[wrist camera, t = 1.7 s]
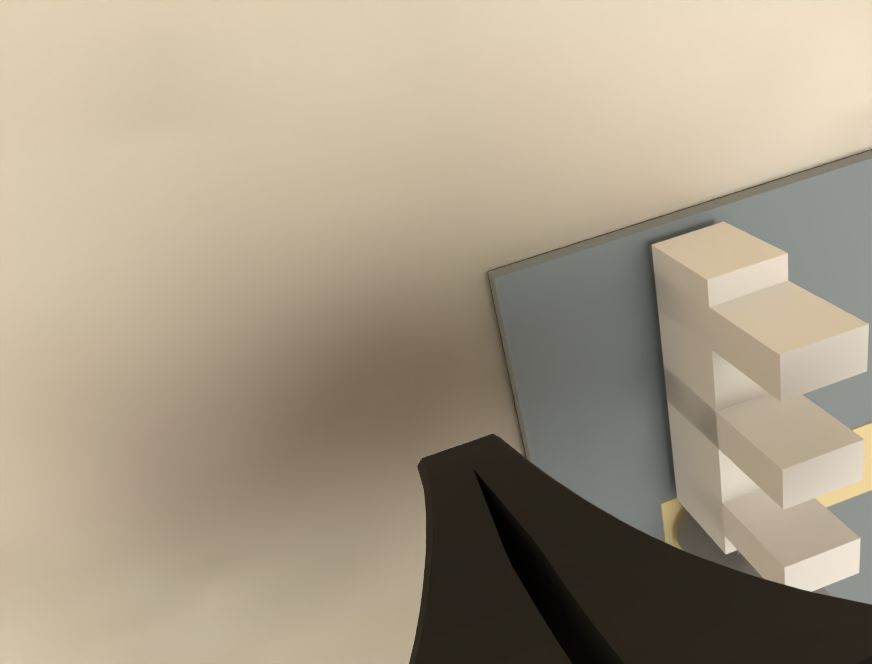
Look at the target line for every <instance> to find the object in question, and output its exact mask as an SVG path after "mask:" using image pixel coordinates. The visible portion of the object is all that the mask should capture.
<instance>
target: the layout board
mask: <svg viewBox="0 0 872 664" xmlns="http://www.w3.org/2000/svg"><path fill="white" fill-rule="evenodd" d="M721 222H726V223H728V224H730V225H732V226H734V227H736V228H738V229H740V230H742V231H744V232H746V233H748V234H750V235H752V236H754V237H756V238H758V239H760V240H762V241H764V242H766V243H768V244H770V245H773V246H775V247H777V248H779V249H781V250H783V251H785V252H787V253H788V281H790V282H792V283H794V284H796V285H798V286H799V287H801V288H803V289H805V290H807V291H809V292H811V293H812V294H814V295H816V296H818V297H820V298H822V299H824V300H825V301H827V302H829V303H831V304H833V305H835V306H837V307H838V308H840V309H842V310H844V311H846V312H848V313H850V314H851V315H853V316H855V317H857V318H859V319H861V320H863V321H864V322H866V323H868V324H869V335H868V361H867V372H864V373H861V374H858V375H855V376H853V377H850V378H847V379H844V380H841V381H839V382H836V383H833V384H830V385H828V386H825V387H822V388H819V389H816V390H814V391H811V392H808V393H805V394H802V395H804V396H805V397H806V398H808V399H809V400H810V401H812V402H813V403H815V404H816V405H817V406H819V407H820V408H822V409H823V410H824V411H826V412H827V413H829V414H830V415H831V416H833V417H834V418H836V419H837V420H838V421H840V422H841V423H843V424H844V425H845V426H847V427H848V428H849V429H851V430H852V431H854V432H855V433H856V434H858V435H859V436H861V437H862V438H863V439H864V463H863V480H861V481H858V482H855V483H853V484H850V485H847V486H845V487H842V488H840V489H837V490H834V491H832V492H829V493H826V494H824V495H821V496H818V497H816V498H815V499H817V500H818V501H819V502H820V503H821V504H822V505H823V506H825V507H826V508H827V509H828V510H829V511H830V512H831V513H833V514H834V515H835V516H836V517H837V518H838V519H839V520H841V521H842V522H843V523H844V524H845V525H846V526H847V527H849V528H850V529H851V530H852V531H853V532H854V533H855V534H857V535H858V536H859V537H860V538H861V540H860V565H859V573H858V574H855V575H853V576H850V577H848V578H845V579H843V580H840V581H838V582H835V583H832V584H830V585H827V586H825V587H824V588H825V589H826V590H827V591H828V592H829V593H830V594H831V595H832V596H833V597H838V598H843V599H848V600H853V601H857V602H862V603H867V604H872V150H870V151H867V152H863V153H860V154H857V155H854V156H851V157H848V158H844V159H841V160H838V161H835V162H832V163H829V164H826V165H822V166H819V167H816V168H813V169H810V170H807V171H804V172H800V173H797V174H794V175H791V176H788V177H785V178H781V179H778V180H775V181H772V182H769V183H766V184H763V185H759V186H756V187H753V188H750V189H747V190H744V191H741V192H737V193H734V194H731V195H728V196H725V197H722V198H718V199H715V200H712V201H709V202H706V203H703V204H700V205H696V206H693V207H690V208H687V209H684V210H681V211H678V212H674V213H671V214H668V215H665V216H662V217H659V218H655V219H652V220H649V221H646V222H643V223H640V224H637V225H633V226H630V227H627V228H624V229H621V230H618V231H614V232H611V233H608V234H605V235H602V236H599V237H596V238H592V239H589V240H586V241H583V242H580V243H577V244H574V245H570V246H567V247H564V248H561V249H558V250H555V251H551V252H548V253H545V254H542V255H539V256H536V257H533V258H529V259H526V260H523V261H520V262H517V263H514V264H511V265H507V266H504V267H501V268H498V269H495V270H492V271H488V275H489V280H490V285H491V290H492V295H493V299H494V304H495V309H496V314H497V319H498V323H499V328H500V333H501V338H502V342H503V347H504V352H505V357H506V362H507V366H508V371H509V376H510V381H511V386H512V390H513V395H514V400H515V405H516V409H517V414H518V419H519V424H520V429H521V433H522V438H523V443H524V448H525V453H526V457H527V460H529V461H530V462H531V463H533V464H534V465H535V466H537V467H538V468H539V469H541V470H542V471H544V472H545V473H546V474H548V475H549V476H551V477H552V478H553V479H555V480H556V481H558V482H559V483H561V484H562V485H564V486H565V487H567V488H569V489H570V490H572V491H573V492H575V493H576V494H578V495H579V496H581V497H582V498H584V499H585V500H587V501H589V502H590V503H592V504H594V505H595V506H597V507H598V508H600V509H602V510H604V511H605V512H607V513H609V514H611V515H612V516H614V517H616V518H618V519H620V520H621V521H623V522H625V523H627V524H629V525H631V526H632V527H634V528H636V529H638V530H640V531H642V532H644V533H646V534H648V535H650V536H652V537H655V538H657V539H659V540H661V541H663V542H665V543H667V544H670V545H672V546H674V547H676V548H679V549H681V547H680V546H679V543H678V540H677V532H678V528H679V525H680V523H681V521H682V519H683V517H684V516H685V515H686V513H687V512H688V511H687V510H686V509H685V508H684V507H683V505H682V504H681V503H680V502H679V501H678V500H677V493H676V483H675V473H674V463H673V453H672V443H671V433H670V424H669V414H668V404H667V394H666V384H665V374H664V364H663V354H662V344H661V335H660V325H659V315H658V305H657V295H656V285H655V275H654V265H653V255H652V246H651V245H652V244H655V243H659V242H662V241H665V240H668V239H671V238H674V237H677V236H680V235H683V234H687V233H690V232H693V231H696V230H699V229H702V228H705V227H708V226H711V225H714V224H718V223H721ZM681 550H682V549H681Z"/></svg>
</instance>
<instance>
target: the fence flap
mask: <svg viewBox="0 0 872 664" xmlns="http://www.w3.org/2000/svg"><path fill="white" fill-rule="evenodd" d="M651 246H652V255H653V265H654V275H655V285H656V295H657V305H658V315H659V325H660V335H661V344H662V354H663V364H664V374H665V384H666V394H667V404H668V414H669V424H670V433H671V443H672V453H673V463H674V473H675V483H676V493H677V500H678V501H679V502H680V503H681V504H682V505H683V507H684V508H685V509H686V510H687V511H688V512H687V513H686V515H685V516H684V517H683V519H682V521H681V523H680V525H679V528H678V532H677V540H678V543H679V546H680V547H681V549H682V550H683V551H686V552H688V553H691V554H693V555H696V556H698V557H701V558H704V559H707V560H709V561H712V562H715V563H718V564H721V565H723V566H726V567H729V568H732V569H735V570H737V571H740V572H743V573H746V574H750V575H753V576H756V577H759V578H762V579H766V580H769V581H773V582H777V583H780V584H784V585H788V586H791V587H795V588H798V589H802V590H806V591H810V592H814V593H819V594H824V595H828V596H832V595H831V594H830V593H829V592H828V591H827V590H826V589H825V588H824V587H825V586H827V585H830V584H832V583H835V582H838V581H840V580H843V579H845V578H848V577H850V576H853V575H855V574H858V573H859V565H860V540H861V538H860V537H859V536H858V535H857V534H855V533H854V532H853V531H852V530H851V529H850V528H849V527H847V526H846V525H845V524H844V523H843V522H842V521H841V520H839V519H838V518H837V517H836V516H835V515H834V514H833V513H831V512H830V511H829V510H828V509H827V508H826V507H825V506H823V505H822V504H821V503H820V502H819V501H818V500H817V499H815V498H816V497H818V496H821V495H824V494H826V493H829V492H832V491H834V490H837V489H840V488H842V487H845V486H847V485H850V484H853V483H855V482H858V481H861V480H863V463H864V439H863V438H862V437H861V436H859V435H858V434H856V433H855V432H854V431H852V430H851V429H849V428H848V427H847V426H845V425H844V424H843V423H841V422H840V421H838V420H837V419H836V418H834V417H833V416H831V415H830V414H829V413H827V412H826V411H824V410H823V409H822V408H820V407H819V406H817V405H816V404H815V403H813V402H812V401H810V400H809V399H808V398H806V397H805V396H804V395H802V394H805V393H808V392H811V391H814V390H816V389H819V388H822V387H825V386H828V385H830V384H833V383H836V382H839V381H841V380H844V379H847V378H850V377H853V376H855V375H858V374H861V373H864V372H867V361H868V335H869V324H868V323H866V322H864V321H863V320H861V319H859V318H857V317H855V316H853V315H851V314H850V313H848V312H846V311H844V310H842V309H840V308H838V307H837V306H835V305H833V304H831V303H829V302H827V301H825V300H824V299H822V298H820V297H818V296H816V295H814V294H812V293H811V292H809V291H807V290H805V289H803V288H801V287H799V286H798V285H796V284H794V283H792V282H790V281H788V253H787V252H785V251H783V250H781V249H779V248H777V247H775V246H773V245H770V244H768V243H766V242H764V241H762V240H760V239H758V238H756V237H754V236H752V235H750V234H748V233H746V232H744V231H742V230H740V229H738V228H736V227H734V226H732V225H730V224H728V223H726V222H721V223H718V224H714V225H711V226H708V227H705V228H702V229H699V230H696V231H693V232H690V233H687V234H683V235H680V236H677V237H674V238H671V239H668V240H665V241H662V242H659V243H655V244H652V245H651Z"/></svg>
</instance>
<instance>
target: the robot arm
mask: <svg viewBox="0 0 872 664" xmlns="http://www.w3.org/2000/svg"><path fill="white" fill-rule="evenodd" d="M417 467H418V470H419V474H420V477H421V481H422V484H423V488H424V494H425V506H426V557H425V569H424V581H423V591H422V599H421V606H420V613H419V619H418V625H417V630H416V636H415V641H414V645H413V650H412V654H411V658H410V662H409V664H872V604H867V603H862V602H857V601H853V600H848V599H843V598H838V597H833V596H828V595H824V594H819V593H814V592H810V591H806V590H802V589H798V588H795V587H791V586H788V585H784V584H780V583H777V582H773V581H769V580H766V579H762V578H759V577H756V576H753V575H750V574H746V573H743V572H740V571H737V570H735V569H732V568H729V567H726V566H723V565H721V564H718V563H715V562H712V561H709V560H707V559H704V558H701V557H698V556H696V555H693V554H691V553H688V552H686V551H683V550H681V549H679V548H676V547H674V546H672V545H670V544H667V543H665V542H663V541H661V540H659V539H657V538H655V537H652V536H650V535H648V534H646V533H644V532H642V531H640V530H638V529H636V528H634V527H632V526H631V525H629V524H627V523H625V522H623V521H621V520H620V519H618V518H616V517H614V516H612V515H611V514H609V513H607V512H605V511H604V510H602V509H600V508H598V507H597V506H595V505H594V504H592V503H590V502H589V501H587V500H585V499H584V498H582V497H581V496H579V495H578V494H576V493H575V492H573V491H572V490H570V489H569V488H567V487H565V486H564V485H562V484H561V483H559V482H558V481H556V480H555V479H553V478H552V477H551V476H549V475H548V474H546V473H545V472H544V471H542V470H541V469H539V468H538V467H537V466H535V465H534V464H533V463H531V462H530V461H529V460H527V459H526V458H525V457H523V456H522V455H521V454H520V453H518V452H517V451H516V450H515V449H513V448H512V447H511V446H510V445H508V444H507V443H506V442H505V441H504V440H502V439H501V438H500V437H498V436H496V435H494V434H491V435H488V436H485V437H482V438H479V439H477V440H474V441H471V442H468V443H465V444H462V445H459V446H456V447H453V448H451V449H448V450H445V451H442V452H439V453H436V454H433V455H430V456H427V457H425V458H422V460H421V461H420V463H419V464H418V466H417Z"/></svg>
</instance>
